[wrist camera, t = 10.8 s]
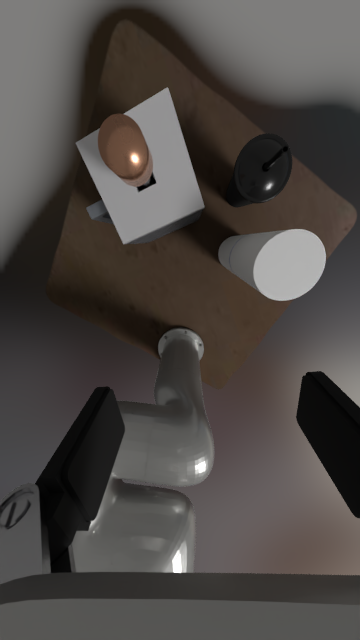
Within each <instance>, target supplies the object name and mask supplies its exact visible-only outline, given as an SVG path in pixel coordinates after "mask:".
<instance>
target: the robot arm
mask: <svg viewBox="0 0 360 640" xmlns="http://www.w3.org/2000/svg"><path fill="white" fill-rule="evenodd" d="M185 331H186V332H185ZM158 352H159V355H160V357H161V360H160V365H159V369H158V374H157V378H156V382H155V387H154V399H155V403H156V405H155V404H147V403H140V402H132V401H131V402H130V401H116V398H115V395H114V392H113V390H112V389H110V388H109V387H97V388H96V389H95V390H94V392H93V393H92V395H91V396H90V398H89V400H88V401H87V403H86V404H85V406H84V407H83V409H82V411H81V412H80V414H79V416H78V417H77V419H76V420H75V421H74V423H73V425H72V426H71V428H70V429H69V431H68V432H67V434H66V436H65V437H64V439H63V440H62V442H61V444H60V445H59V447H58V448H57V450H56V451H55V453H54V455H53V456H52V458H51V459H50V461H49V462H48V464H47V466H46V467H45V469H44V470H43V472H42V474H41V475H40V477H39V478H38V480H37V481H36V483H35V484H32V483H28V484H24V485H21V486H20V487H17V488H16V489H14V490H13V491H11V492H10V493H9V494H7V495H6V496H5V497H4V498H3V499H2V500H1V501H0V640H360V576H359V575H310V574H309V575H307V574H254V573H253V574H252V573H193V571H194V556H195V542H196V519H195V511H194V508H193V504H192V502H191V501H190V499H189V498H188V497H187V496H186V495H185V494H184V493H181V492H179V491H177V490H173V489H168V488H162V487H155V486H147V485H139V484H131V483H125V482H123V481H122V479H124V480H133V481H140V482H145V483H152V484H161V485H169V486H192V485H195V484H198V483H200V482H202V481H203V480H205V479H206V477H207V476H208V475H209V473H210V471H211V469H212V465H213V462H214V442H213V436H212V432H211V428H210V425H209V422H208V419H207V415H206V412H205V408H204V402H203V395H202V385H201V374H200V364H199V361H200V359H201V358H202V356H203V352H204V345H203V342H202V339H201V338H200V336H199V335H198V334H197V333H196V332H194V331H192V330H190V329H187V328H174V329H171V330H169V331H167V332H166V333H164V334H163V336H162V337H161V339H160V341H159V344H158ZM296 418H297V422H298V424H299V426H300V428H301V429H302V431H303V433H304V434H305V436H306V438H307V439H308V441H309V443H310V444H311V446H312V448H313V449H314V451H315V453H316V454H317V456H318V458H319V459H320V461H321V463H322V464H323V466H324V468H325V469H326V471H327V472H328V474H329V476H330V477H331V479H332V481H333V482H334V484H335V486H336V487H337V489H338V491H339V492H340V494H341V495H342V497H343V499H344V501H345V502H346V504H347V506H348V507H349V509H350V510H351V512H352V513H353V515H354V516H355V517H357V518H360V408H359V406H357V405H356V404H355V403H354V402H353V401H352V400H351V399H350V398H349V397H348V396H347V395H346V394H345V393H344V392H343V391H342V390H341V389H340V388H339V387H338V386H337V385H336V384H335V383H334V382H333V381H332V380H330V379H329V378H328V377H327V376H326V375H325V374H324V373H323V372H321V371H319V372H318V371H317V372H307V373H306V375H305V376H303V377H302V384H301V390H300V397H299V403H298V409H297V416H296Z"/></svg>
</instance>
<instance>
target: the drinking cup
mask: <svg viewBox="0 0 360 640" xmlns="http://www.w3.org/2000/svg"><path fill="white" fill-rule="evenodd" d="M291 169H292V155H291V151H290V148H289V146H288V144H287V143H286V142H285V140H283V139H282V138H281V137H279V136H278V135H275V134H262V135H259V136H256V137H255V138H253V139H252V140H250V141H249V142H248V143H247V144H246V145H245V146H244V147H243V149H242V150H241V152H240V154H239V156H238V158H237V160H236V163H235V167H234V173H233V176H232V179H231V181H230V184H229V186H228V189H227V194H226V196H227V200H228V202H229V204H230V205H231V206H233V207H241V206H245V205H249V204H252V203H263V202H267V201H269V200H271V199H273V198H274V197H276V196H277V195H278V194H279V193H280V192H281V191H282V190H283V188H284V187H285V185H286V184H287V182H288V179H289V177H290V174H291Z"/></svg>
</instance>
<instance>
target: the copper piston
mask: <svg viewBox="0 0 360 640" xmlns="http://www.w3.org/2000/svg"><path fill="white" fill-rule="evenodd" d="M98 149H99V153H100V155H101V158H102V160H103V161H104V163H105V164H106V166H107V167H108V168H109V169H110V170H111V171H113V172H114V173H115V174H116V175H117V176H118V177H119V178H120V179H121V180H122V181H123V182H125V183H126V184H128V185H130V186H133V187H138V190H139V192H140V191H142V190H144V189H146V188H148V187H150V186H152V185H154V184H156V180H155V177H154V175H153V172H152V171H153V159H152V155H151V152H150V150H149V148H148V145H147V143H146V141H145V138H144V136H143V133H142V131H141V129H140V127H139V126H138V124H137V123H136V122H135V121H134V120H133V119H132V118H131V117H129V116H127V115H124V114H113V115H111V116H109V117H108V118H106V120H105V121H104V122H103V123H102V125H101V127H100V130H99V133H98Z"/></svg>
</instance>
